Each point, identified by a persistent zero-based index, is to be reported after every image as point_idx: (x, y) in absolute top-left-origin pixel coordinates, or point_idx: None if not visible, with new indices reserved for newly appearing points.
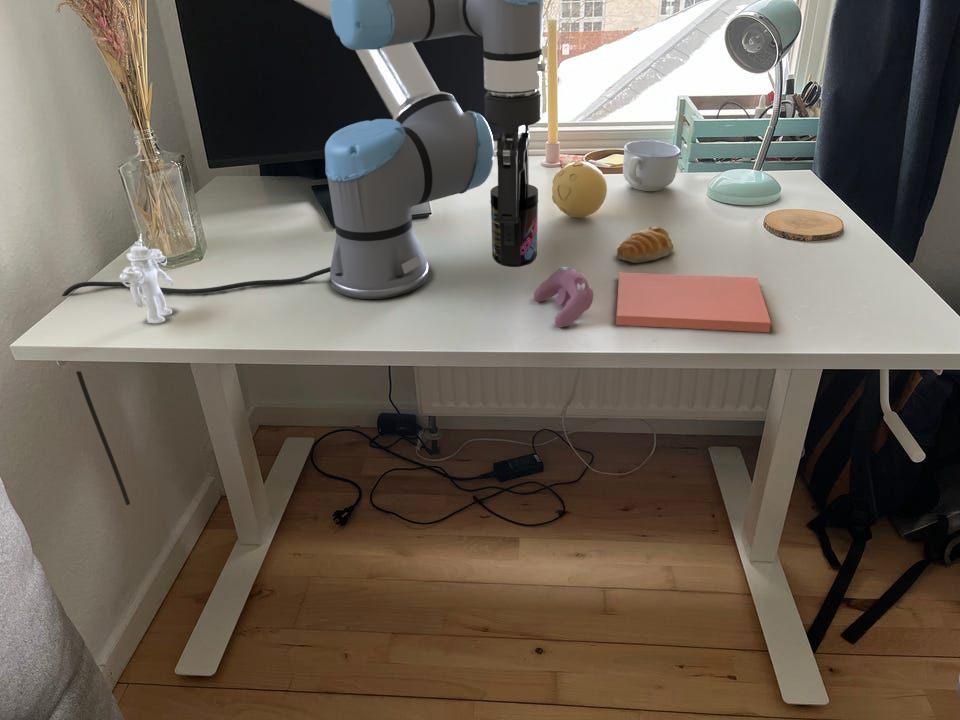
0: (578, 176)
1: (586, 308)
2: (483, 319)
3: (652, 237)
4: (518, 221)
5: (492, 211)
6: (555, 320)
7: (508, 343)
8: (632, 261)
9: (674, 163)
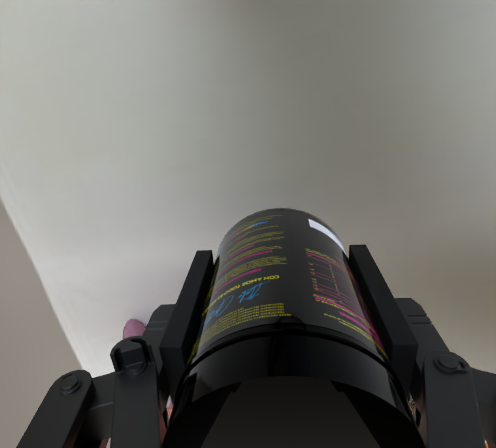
0: None
1: None
2: (122, 186)
3: None
4: (172, 401)
5: (227, 317)
6: (126, 325)
7: (50, 251)
8: (413, 410)
9: None
